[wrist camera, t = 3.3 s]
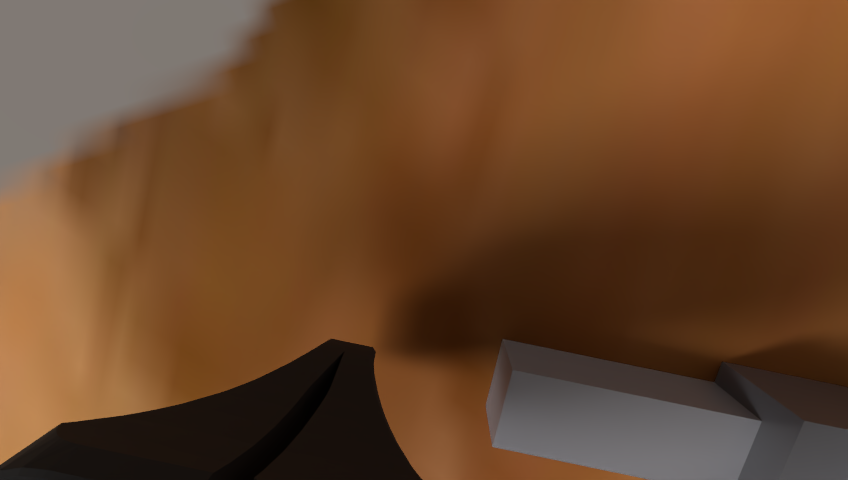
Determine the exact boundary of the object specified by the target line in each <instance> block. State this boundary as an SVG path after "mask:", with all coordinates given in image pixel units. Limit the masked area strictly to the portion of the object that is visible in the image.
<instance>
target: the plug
mask: <svg viewBox="0 0 848 480" xmlns="http://www.w3.org/2000/svg"><path fill="white" fill-rule="evenodd" d="M486 411H487V417H488V423H489V429H490V435H491V441H492V447H496V448H501V449H506V450H510V451H515V452H520V453H525V454H530V455H534V456H539V457H544V458H549V459H553V460H558V461H563V462H568V463H573V464H577V465H582V466H587V467H592V468H596V469H601V470H606V471H611V472H616V473H620V474H625V475H630V476H635V477H640V478H644V479H649V480H848V388H847V387H844V386H840V385H835V384H830V383H825V382H820V381H815V380H810V379H805V378H800V377H796V376H791V375H786V374H781V373H776V372H771V371H766V370H761V369H756V368H751V367H747V366H742V365H737V364H732V363H727V362H722V363H721V366H720V369H719V371H718V374H717V377H716V379H715V382H711V381H706V380H701V379H696V378H691V377H686V376H681V375H676V374H672V373H667V372H662V371H657V370H652V369H647V368H642V367H637V366H633V365H628V364H623V363H618V362H613V361H608V360H603V359H598V358H594V357H589V356H584V355H579V354H574V353H569V352H564V351H559V350H555V349H550V348H545V347H540V346H535V345H530V344H525V343H520V342H516V341H511V340H506V339H502V343H501V347H500V351H499V355H498V359H497V363H496V367H495V371H494V375H493V379H492V383H491V387H490V391H489V395H488V399H487V403H486Z"/></svg>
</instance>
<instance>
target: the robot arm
mask: <svg viewBox="0 0 848 480" xmlns="http://www.w3.org/2000/svg"><path fill="white" fill-rule="evenodd" d="M375 353H376V352H375V350H374V348H373V347H369V346H364V345H359V344H354V343H349V342H345V341H340V340H335V339H330V340H328V341H326V342H325V343H323V344H321V345H320V346H318V347H316V348H315V349H313V350H311V351H310V352H308V353H306V354H305V355H303V356H301V357H299V358H297V359H296V360H294V361H292V362H290V363H289V364H287V365H285V366H282V367H280V368H278V369H276V370H274V371H272V372H270V373H268V374H266V375H264V376H262V377H260V378H258V379H255V380H253V381H251V382H248V383H246V384H243V385H240V386H238V387H235V388H232V389H230V390H227V391H224V392H221V393H218V394H214V395H211V396H207V397H204V398H201V399H197V400H194V401H190V402H187V403H183V404H179V405H175V406H170V407H166V408H161V409H157V410H151V411H146V412H141V413H136V414H130V415H124V416H116V417H109V418H101V419H93V420H85V421H78V422H68V423H61V424H60V425H58V426H57V427H55V428H54V429H52V430H51V431H49V432H48V433H46V434H45V435H43V436H42V437H40V438H39V439H38V440H36V441H35V442H33V443H32V444H30V445H29V446H27V447H26V448H24V449H23V450H21V451H20V452H19V453H17V454H16V455H14V456H13V457H11V458H10V459H8V460H7V461H5V462H4V463H3V464H1V465H0V480H422V479H421V478H420V477H419V475H418V474H417V473H416V471H415V470H414V469H413V467H412V466H411V465H410V463H409V461H408V460H407V458H406V456H405V455H404V453H403V452H402V450H401V448H400V447H399V445H398V443H397V441H396V439H395V437H394V435H393V433H392V431H391V429H390V427H389V424H388V422H387V420H386V417H385V415H384V412H383V409H382V406H381V402H380V399H379V395H378V391H377V386H376V381H375V375H374V358H375Z"/></svg>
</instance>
